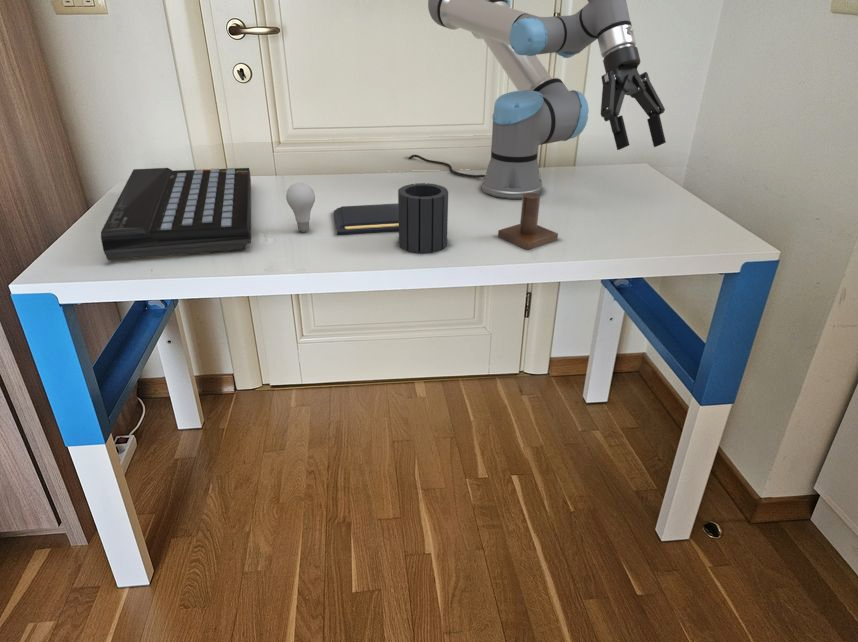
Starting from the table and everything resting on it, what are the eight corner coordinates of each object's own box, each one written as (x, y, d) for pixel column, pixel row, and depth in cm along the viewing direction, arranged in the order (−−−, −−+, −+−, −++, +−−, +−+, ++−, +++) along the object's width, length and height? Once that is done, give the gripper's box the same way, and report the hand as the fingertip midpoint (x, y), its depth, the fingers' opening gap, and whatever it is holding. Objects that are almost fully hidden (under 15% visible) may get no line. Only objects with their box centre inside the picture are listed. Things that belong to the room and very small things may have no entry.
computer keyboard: (252, 253, 133) (247, 222, 130) (107, 265, 128) (98, 233, 125) (252, 186, 171) (248, 160, 167) (139, 193, 166) (133, 167, 162)
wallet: (417, 199, 156) (426, 222, 143) (417, 207, 157) (425, 230, 144) (333, 203, 154) (334, 226, 141) (333, 211, 155) (335, 235, 142)
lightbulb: (295, 239, 140) (289, 189, 134) (286, 229, 145) (280, 180, 139) (322, 234, 142) (318, 184, 137) (312, 225, 147) (308, 177, 141)
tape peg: (497, 236, 141) (500, 194, 136) (527, 227, 146) (531, 186, 141) (527, 249, 135) (531, 205, 130) (557, 239, 140) (562, 196, 135)
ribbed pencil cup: (390, 241, 139) (388, 189, 133) (427, 231, 144) (427, 180, 138) (418, 257, 132) (418, 202, 126) (456, 245, 137) (457, 192, 131)
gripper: (596, 41, 134) (621, 142, 135) (666, 46, 148) (688, 137, 149) (569, 58, 140) (593, 155, 141) (639, 62, 154) (660, 149, 155)
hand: (642, 146), depth 145 cm, fingers open, 13 cm apart
